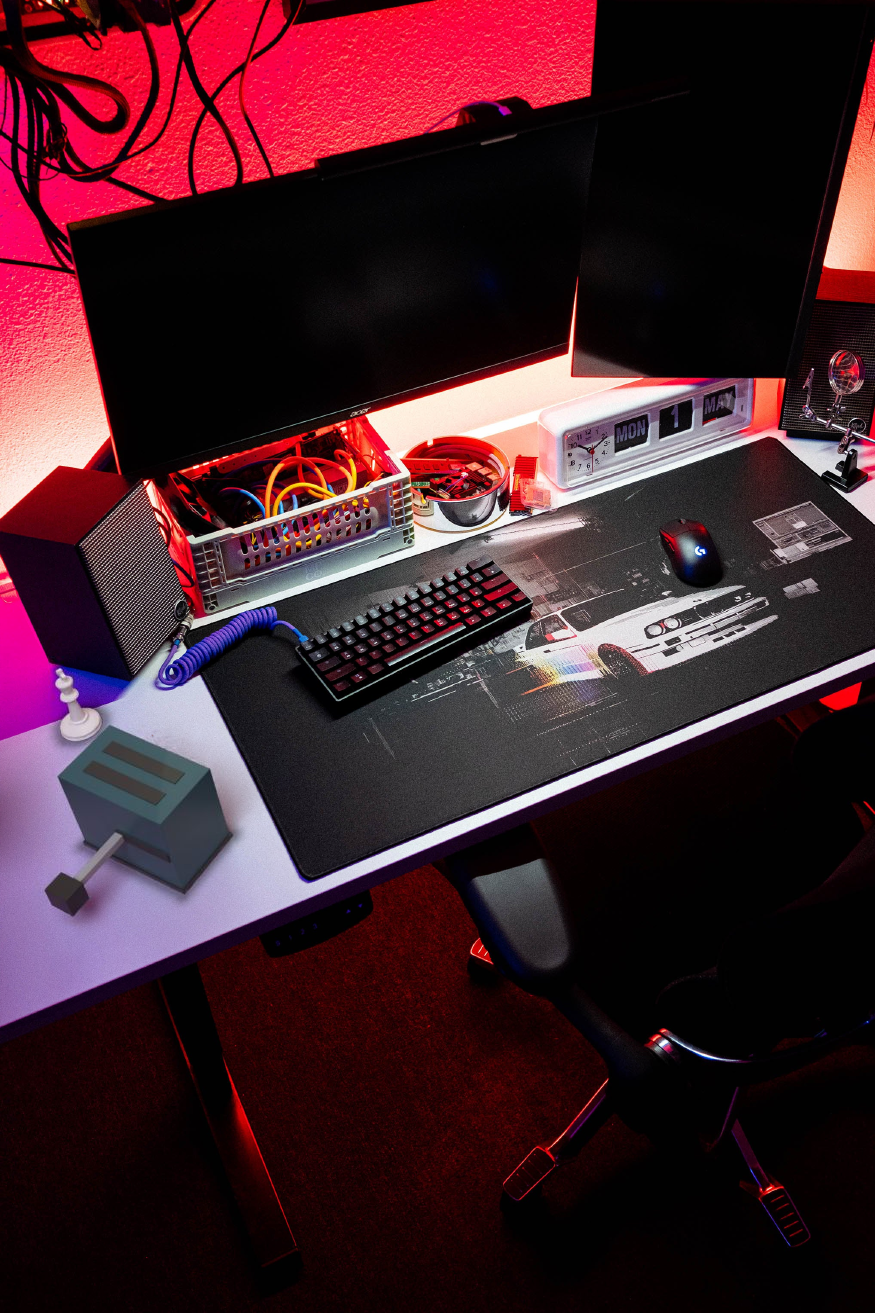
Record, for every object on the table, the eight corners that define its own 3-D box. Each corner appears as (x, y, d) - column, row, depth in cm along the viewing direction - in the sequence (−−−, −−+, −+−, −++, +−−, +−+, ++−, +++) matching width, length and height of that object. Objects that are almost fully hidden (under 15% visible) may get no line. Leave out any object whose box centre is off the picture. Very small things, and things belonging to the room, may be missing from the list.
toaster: (184, 894, 122) (160, 826, 114) (83, 845, 127) (53, 776, 119) (233, 836, 128) (212, 767, 120) (134, 790, 133) (109, 722, 125)
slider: (73, 917, 115) (66, 901, 113) (51, 905, 116) (43, 890, 114) (133, 849, 121) (127, 833, 119) (112, 839, 122) (105, 823, 120)
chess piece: (74, 747, 138) (51, 691, 132) (53, 727, 141) (29, 671, 134) (109, 724, 141) (89, 668, 134) (88, 705, 143) (67, 649, 137)
